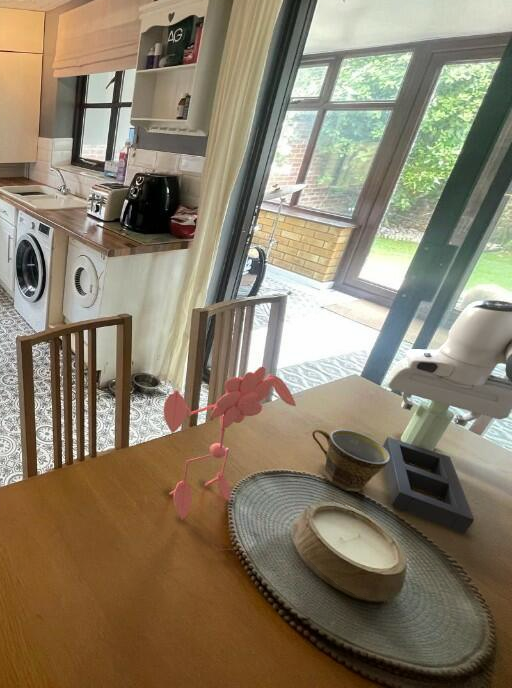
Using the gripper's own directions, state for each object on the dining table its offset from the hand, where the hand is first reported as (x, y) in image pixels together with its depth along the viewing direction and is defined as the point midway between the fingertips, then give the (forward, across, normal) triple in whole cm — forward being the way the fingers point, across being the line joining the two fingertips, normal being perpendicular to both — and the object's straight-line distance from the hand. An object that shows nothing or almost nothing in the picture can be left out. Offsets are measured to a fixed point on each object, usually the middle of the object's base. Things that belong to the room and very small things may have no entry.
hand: (431, 415), depth 98 cm
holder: (+9, +2, +17) cm, 19 cm away
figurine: (+10, +38, +52) cm, 65 cm away
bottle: (+9, 0, 0) cm, 9 cm away
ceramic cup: (+9, +17, +24) cm, 31 cm away
